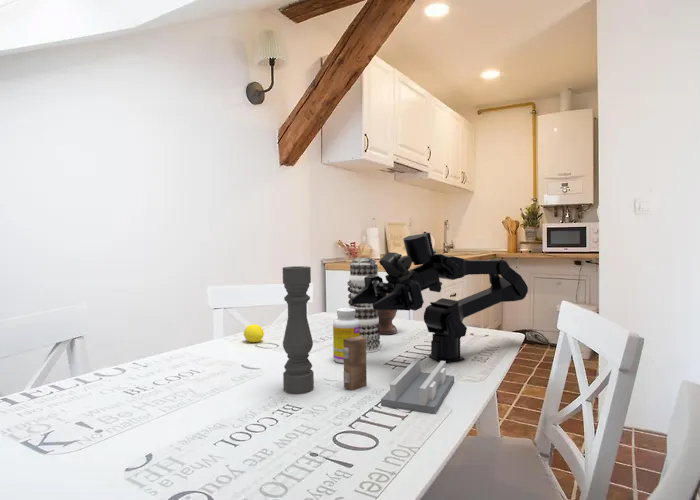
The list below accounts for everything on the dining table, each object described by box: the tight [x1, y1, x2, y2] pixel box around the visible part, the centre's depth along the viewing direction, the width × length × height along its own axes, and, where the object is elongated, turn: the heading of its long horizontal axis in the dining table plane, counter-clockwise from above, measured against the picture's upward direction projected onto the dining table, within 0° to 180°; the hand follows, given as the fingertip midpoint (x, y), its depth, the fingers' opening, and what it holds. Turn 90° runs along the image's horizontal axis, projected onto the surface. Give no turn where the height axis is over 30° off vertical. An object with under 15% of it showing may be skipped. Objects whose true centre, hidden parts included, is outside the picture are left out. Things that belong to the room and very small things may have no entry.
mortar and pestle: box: [378, 293, 398, 336], centre depth 139 cm, size 12×9×20 cm
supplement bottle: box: [332, 307, 360, 364], centre depth 110 cm, size 7×7×13 cm
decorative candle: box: [347, 257, 381, 354], centre depth 121 cm, size 9×9×25 cm
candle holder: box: [282, 265, 315, 395], centre depth 90 cm, size 6×6×25 cm
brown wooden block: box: [342, 336, 368, 391], centre depth 91 cm, size 5×2×10 cm, turn 129°
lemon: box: [243, 323, 265, 344], centre depth 130 cm, size 7×5×5 cm
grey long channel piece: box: [380, 357, 455, 415], centre depth 87 cm, size 18×10×4 cm, turn 156°
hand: (362, 304), depth 97 cm, fingers open, 9 cm apart
